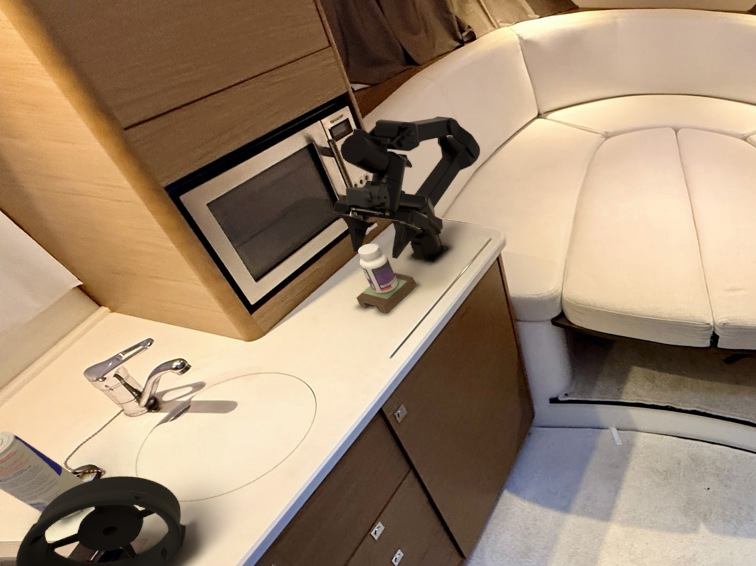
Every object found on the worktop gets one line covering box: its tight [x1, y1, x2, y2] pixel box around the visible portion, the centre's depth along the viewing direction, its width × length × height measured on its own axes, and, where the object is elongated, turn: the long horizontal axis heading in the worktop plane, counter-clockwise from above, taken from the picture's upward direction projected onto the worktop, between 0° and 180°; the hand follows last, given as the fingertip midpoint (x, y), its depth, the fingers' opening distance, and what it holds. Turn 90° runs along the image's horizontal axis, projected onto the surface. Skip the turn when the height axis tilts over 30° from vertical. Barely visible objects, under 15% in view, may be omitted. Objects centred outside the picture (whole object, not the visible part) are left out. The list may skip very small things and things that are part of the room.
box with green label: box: [355, 272, 417, 314], centre depth 112 cm, size 10×7×3 cm
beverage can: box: [0, 430, 86, 519], centre depth 73 cm, size 6×6×15 cm
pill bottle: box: [357, 243, 398, 293], centre depth 108 cm, size 5×5×10 cm
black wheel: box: [15, 475, 187, 566], centre depth 68 cm, size 14×14×10 cm
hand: (375, 255), depth 107 cm, fingers open, 9 cm apart
